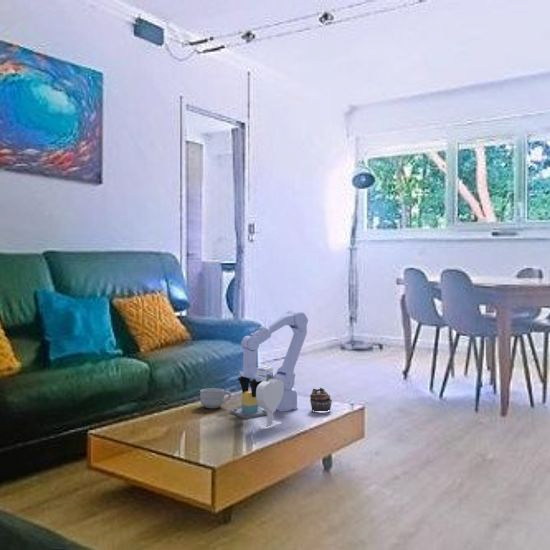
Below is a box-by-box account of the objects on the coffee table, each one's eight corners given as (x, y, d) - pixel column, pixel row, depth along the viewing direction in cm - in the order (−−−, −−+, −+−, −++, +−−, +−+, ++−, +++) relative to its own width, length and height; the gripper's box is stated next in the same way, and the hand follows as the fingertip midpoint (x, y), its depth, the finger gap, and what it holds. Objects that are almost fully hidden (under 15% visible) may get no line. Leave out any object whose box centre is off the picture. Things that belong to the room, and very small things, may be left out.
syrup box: (266, 398, 295) (266, 368, 294) (256, 396, 298) (256, 367, 298) (273, 396, 299) (273, 366, 299) (263, 394, 303) (263, 365, 302)
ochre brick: (251, 402, 270) (251, 390, 270) (257, 404, 266) (257, 392, 266) (241, 403, 267) (241, 391, 267) (247, 406, 263) (247, 393, 263)
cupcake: (320, 415, 265) (320, 392, 265) (305, 410, 273) (305, 388, 273) (336, 411, 272) (336, 389, 271) (321, 407, 279) (321, 385, 279)
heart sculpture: (275, 419, 258) (275, 376, 257) (285, 421, 255) (285, 378, 255) (254, 428, 245) (254, 383, 244) (264, 430, 242) (264, 384, 241)
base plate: (254, 408, 275) (254, 398, 275) (268, 414, 265) (269, 403, 265) (230, 412, 268) (230, 401, 268) (245, 418, 258) (245, 407, 258)
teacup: (196, 409, 274) (196, 391, 274) (205, 403, 285) (205, 386, 284) (225, 411, 270) (225, 393, 270) (234, 405, 281) (234, 388, 280)
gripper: (233, 362, 270) (233, 393, 270) (251, 367, 258) (251, 399, 258) (247, 360, 274) (247, 391, 274) (265, 365, 262) (265, 397, 262)
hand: (249, 395), depth 266 cm, fingers open, 7 cm apart
